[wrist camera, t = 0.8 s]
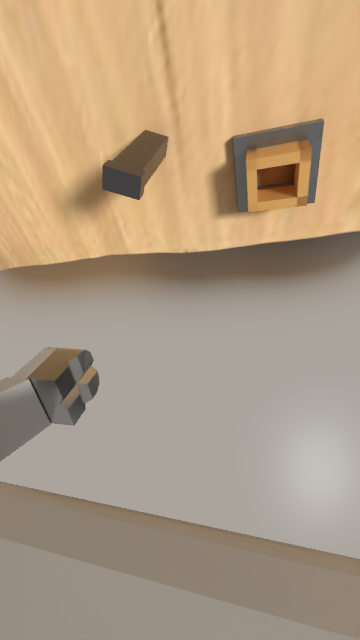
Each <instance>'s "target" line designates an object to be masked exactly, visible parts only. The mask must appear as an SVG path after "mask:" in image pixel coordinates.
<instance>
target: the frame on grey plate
mask: <svg viewBox="0 0 360 640" xmlns="http://www.w3.org/2000/svg"><path fill="white" fill-rule="evenodd" d="M323 126H324V120H323V119H318V120H313V121H308V122H303V123H298V124H292V125H287V126H282V127H277V128H272V129H267V130H262V131H257V132H252V133H247V134H242V135H237V136H234V137H233V144H234V158H235V172H236V186H237V200H238V212H243V211H248V213H249V212H257V211H265V210H273V209H281V208H289V207H298V206H306V205H307V204H308V203H315V194H316V185H317V177H318V168H319V160H320V151H321V143H322V134H323ZM289 164H294V180H293V182H288V183H281V184H274V185H267V186H261V187H257V170H258V169H264V168H270V167H276V166H282V165H289Z"/></svg>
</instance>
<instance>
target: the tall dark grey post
mask: <svg viewBox="0 0 360 640" xmlns="http://www.w3.org/2000/svg"><path fill="white" fill-rule="evenodd" d="M167 143H168V137H167V136H163V135H160V134H157V133H154V132H150V131H147V130H145V131H144V132H143V133H142V134H141V135H140V136H138V137H137V138H136V139H135V140H134V141H133V142H132V143H131V144H130V145H129V146H128V147H127V148H126V149H125V150H124V151H122V152H121V153H120V154H119V155H118V156H117V157H116V158H115V159H114V160H113V161H110V160H108V161H107V162H106V163H105V164H103V189H104V190H107V191H110V192H114V193H117V194H120V195H124V196H127V197H130V198H134V199H137V200H140V198H141V197H142V195H143V193H144V186H145V185H146V183H147V182H148V181H149V179H150V178H151V176H152V175H153V173H154V172H155V170H156V169H157V168H158V166H159V165H160V163H161V162H162V160H163V159H164V158H165V156H166V149H167Z"/></svg>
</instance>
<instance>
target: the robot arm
mask: <svg viewBox="0 0 360 640" xmlns="http://www.w3.org/2000/svg"><path fill="white" fill-rule="evenodd" d="M92 363H93V358H92V355H91V353H90V352H89V351H87V350H81V349H68V348H52V347H48V348H44V349H43V350H42V351H41V352H39V353H38V354H37V355H36V356H35V357H34V358H33V359H31V360H30V361H29V362H28V363H27V364H26V365H25V366H24V367H22V368H21V369H20V370H19V371H18V372H17V373H16V374H15V375H13V376H12V377H11V378H9V377H7V378H5V379H2V380H0V461H2V460H3V459H4V458H5V457H7V456H9V455H10V454H11V453H13V452H14V451H15V450H16V449H18V448H19V447H21V446H22V445H24V444H25V443H26V442H28V441H29V440H30V439H32V438H33V437H34V436H36V435H37V434H38V433H40V432H41V431H43V430H44V429H45V428H47V427H48V426H49V425H51V423H55V424H64V425H75V424H76V422H77V421H78V419H79V418H80V416H81V415H82V414H83V412H84V411H85V403H86V402H88V401H90V400H91V399H93V397H94V396H95V394H96V393H97V390H98V386H99V375H98V372H97V370H96V369H94V367H92V366H91V365H92ZM0 640H360V559H356V558H352V557H347V556H343V555H338V554H333V553H329V552H324V551H319V550H315V549H310V548H305V547H301V546H296V545H292V544H287V543H283V542H278V541H273V540H269V539H264V538H260V537H255V536H250V535H246V534H241V533H236V532H232V531H227V530H222V529H218V528H213V527H209V526H204V525H200V524H195V523H190V522H186V521H181V520H176V519H171V518H167V517H163V516H158V515H153V514H148V513H144V512H139V511H135V510H130V509H125V508H121V507H116V506H111V505H107V504H102V503H96V502H93V501H88V500H84V499H79V498H74V497H70V496H65V495H60V494H56V493H51V492H46V491H41V490H37V489H33V488H28V487H23V486H19V485H14V484H9V483H5V482H0Z"/></svg>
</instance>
